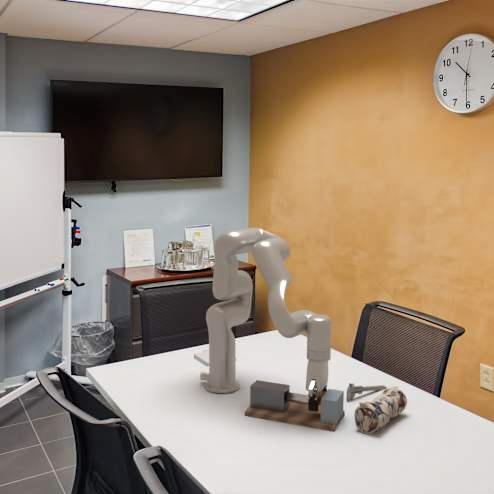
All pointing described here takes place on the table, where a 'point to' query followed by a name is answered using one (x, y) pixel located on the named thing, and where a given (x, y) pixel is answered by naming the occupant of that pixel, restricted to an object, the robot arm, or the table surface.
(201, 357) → the mounting plate
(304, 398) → the tube
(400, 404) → the pencil case
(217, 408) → the table surface
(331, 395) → the socket
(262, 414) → the board
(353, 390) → the caliper
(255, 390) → the sleeve
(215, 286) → the robot arm
